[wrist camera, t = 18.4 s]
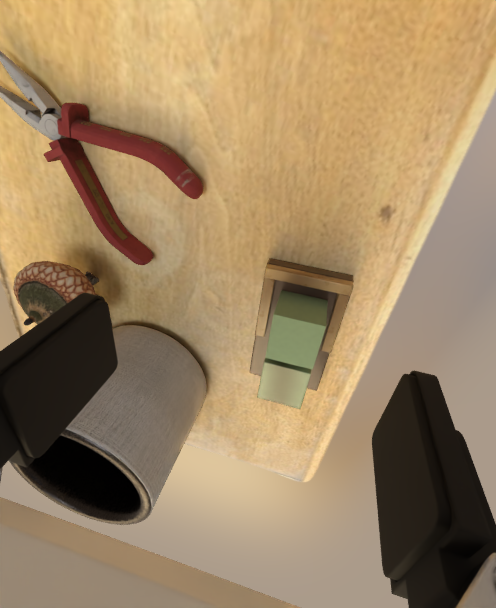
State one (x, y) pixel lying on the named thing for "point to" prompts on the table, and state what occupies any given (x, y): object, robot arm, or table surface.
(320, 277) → the brown wooden rectangular tray
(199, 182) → the pliers
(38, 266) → the acorn
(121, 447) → the planter
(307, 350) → the block
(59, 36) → the table surface
